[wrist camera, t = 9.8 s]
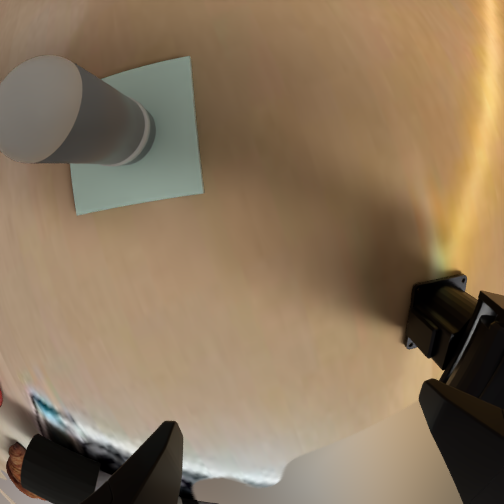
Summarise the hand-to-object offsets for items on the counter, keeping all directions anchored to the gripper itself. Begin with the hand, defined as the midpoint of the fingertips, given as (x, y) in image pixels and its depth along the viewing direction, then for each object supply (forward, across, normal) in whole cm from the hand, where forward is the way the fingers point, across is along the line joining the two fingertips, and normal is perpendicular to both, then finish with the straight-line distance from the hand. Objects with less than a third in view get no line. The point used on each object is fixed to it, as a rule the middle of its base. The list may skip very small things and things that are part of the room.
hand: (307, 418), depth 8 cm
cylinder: (+12, +9, -12) cm, 19 cm away
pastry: (+14, +49, +38) cm, 64 cm away
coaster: (+13, +9, -12) cm, 20 cm away
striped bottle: (+13, +21, +31) cm, 40 cm away
